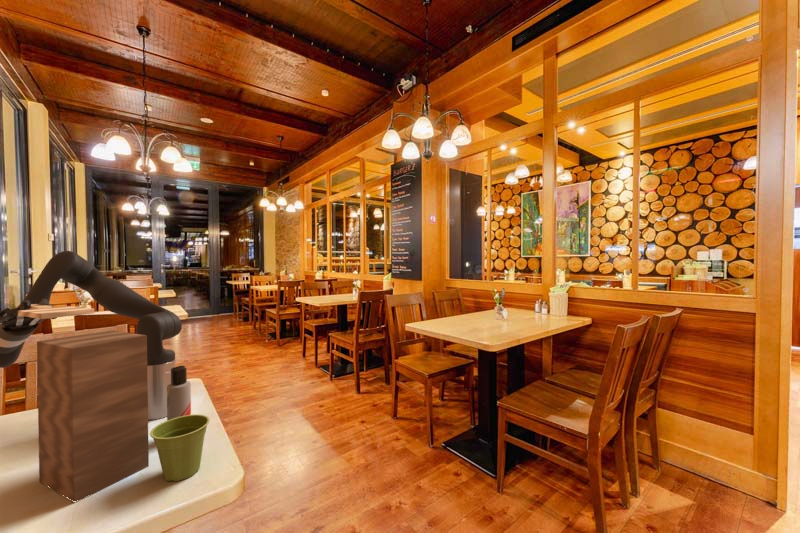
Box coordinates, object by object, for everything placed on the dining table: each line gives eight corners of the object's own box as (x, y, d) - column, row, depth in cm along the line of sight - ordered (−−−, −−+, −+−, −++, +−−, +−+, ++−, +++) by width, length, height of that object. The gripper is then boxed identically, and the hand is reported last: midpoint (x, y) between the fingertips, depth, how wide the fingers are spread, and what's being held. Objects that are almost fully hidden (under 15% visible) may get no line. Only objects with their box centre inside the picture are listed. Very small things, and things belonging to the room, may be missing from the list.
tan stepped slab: (1, 312, 90) (1, 306, 90) (52, 308, 99) (52, 302, 99) (41, 319, 80) (41, 312, 80) (94, 313, 89) (94, 307, 89)
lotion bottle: (195, 433, 99) (195, 365, 98) (177, 443, 93) (176, 371, 93) (181, 430, 101) (180, 363, 100) (162, 440, 95) (161, 369, 95)
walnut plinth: (39, 482, 77) (36, 341, 77) (112, 451, 90) (111, 330, 89) (74, 503, 70) (72, 348, 70) (148, 466, 83) (146, 335, 83)
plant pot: (188, 454, 88) (187, 411, 88) (221, 464, 83) (220, 418, 83) (138, 481, 77) (137, 432, 77) (173, 494, 73) (172, 442, 72)
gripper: (-26, 322, 93) (-5, 292, 86) (44, 314, 105) (67, 288, 99) (-21, 347, 91) (2, 318, 85) (50, 336, 104) (74, 311, 97)
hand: (37, 302), depth 92 cm, fingers closed on tan stepped slab, 2 cm apart
